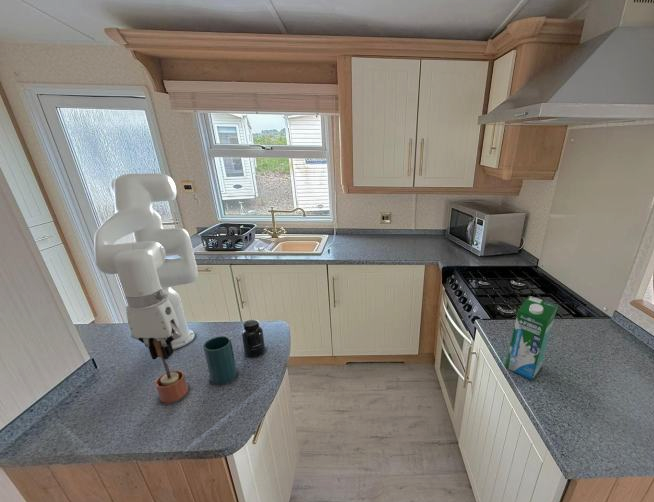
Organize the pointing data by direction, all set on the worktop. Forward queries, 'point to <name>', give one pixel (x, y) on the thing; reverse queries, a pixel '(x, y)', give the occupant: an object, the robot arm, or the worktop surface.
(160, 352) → the brush
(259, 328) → the supplement bottle
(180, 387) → the cup
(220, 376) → the cup
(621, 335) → the worktop surface
